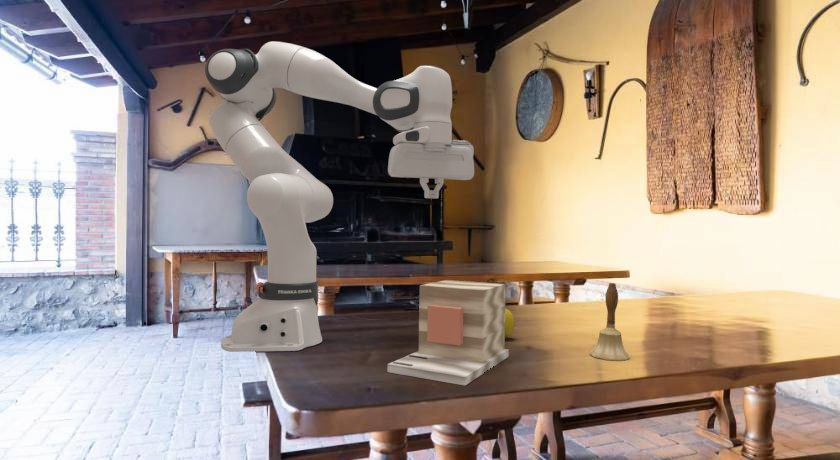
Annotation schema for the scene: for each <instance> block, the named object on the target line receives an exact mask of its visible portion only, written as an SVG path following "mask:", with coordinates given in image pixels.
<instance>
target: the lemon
mask: <svg viewBox="0 0 840 460" xmlns="http://www.w3.org/2000/svg"><path fill="white" fill-rule="evenodd" d="M514 329H515V317H514V314H513V313H512V311H510V309H508V308H506V307H505V338H507V337H509V336H510V335H511V334H512V333H513V332H514Z"/></svg>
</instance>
